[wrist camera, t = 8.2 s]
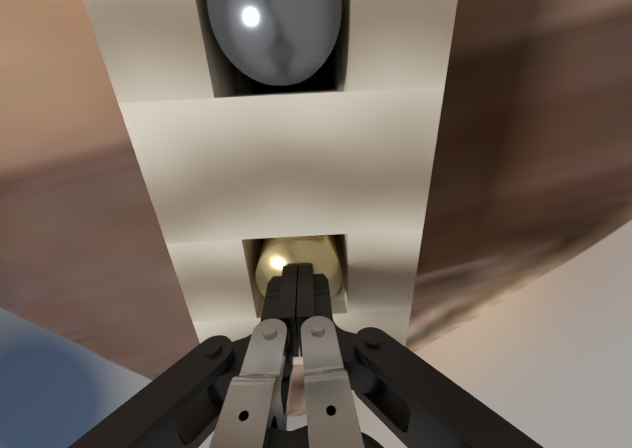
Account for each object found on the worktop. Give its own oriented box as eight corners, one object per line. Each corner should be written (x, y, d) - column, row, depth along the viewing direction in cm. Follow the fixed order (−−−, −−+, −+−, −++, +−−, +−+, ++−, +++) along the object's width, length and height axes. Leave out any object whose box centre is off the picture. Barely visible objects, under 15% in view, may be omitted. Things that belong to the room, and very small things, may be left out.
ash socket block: (150, -114, 13) (-36, -351, 6) (401, -124, 13) (513, -368, 6) (237, 284, 24) (208, 369, 17) (374, 276, 24) (403, 357, 17)
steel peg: (241, -8, 14) (191, -80, 8) (325, -12, 14) (341, -85, 8) (253, 87, 16) (221, 88, 10) (327, 83, 16) (341, 82, 10)
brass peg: (267, 192, 19) (249, 243, 13) (330, 188, 19) (342, 238, 13) (274, 245, 21) (261, 312, 15) (331, 242, 21) (342, 308, 15)
